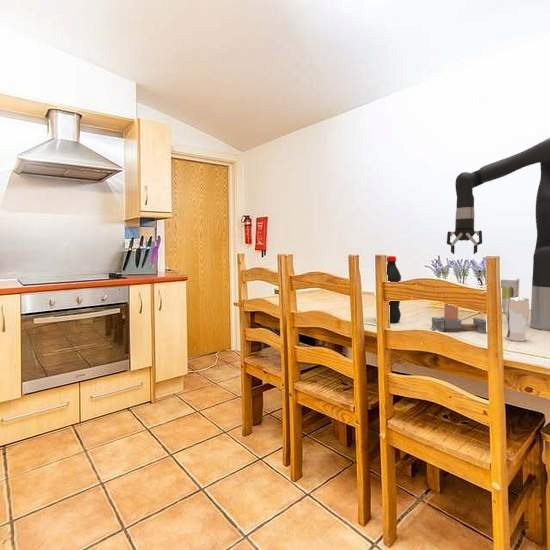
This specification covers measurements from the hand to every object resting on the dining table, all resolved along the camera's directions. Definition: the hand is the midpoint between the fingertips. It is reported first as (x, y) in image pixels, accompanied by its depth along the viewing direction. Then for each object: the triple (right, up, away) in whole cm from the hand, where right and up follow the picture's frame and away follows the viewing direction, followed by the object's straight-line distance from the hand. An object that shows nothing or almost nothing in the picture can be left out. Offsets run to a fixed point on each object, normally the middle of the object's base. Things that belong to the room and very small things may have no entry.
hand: (463, 253), depth 162 cm
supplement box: (+30, -28, +17) cm, 44 cm away
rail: (-12, -32, -18) cm, 38 cm away
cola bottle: (-33, -31, +1) cm, 45 cm away
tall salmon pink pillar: (-15, -31, -17) cm, 38 cm away
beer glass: (+2, -33, -32) cm, 46 cm away
